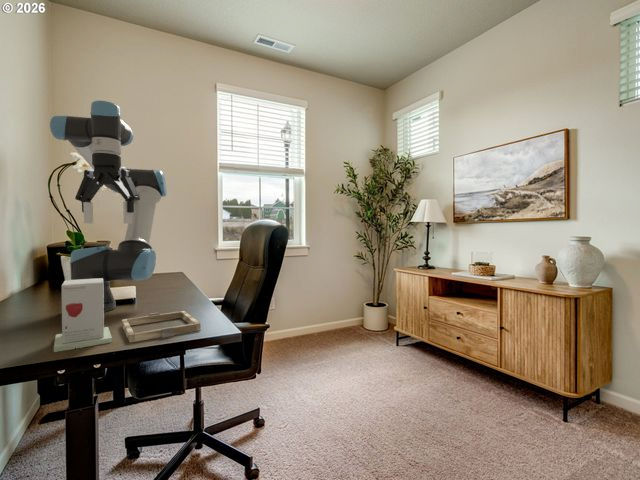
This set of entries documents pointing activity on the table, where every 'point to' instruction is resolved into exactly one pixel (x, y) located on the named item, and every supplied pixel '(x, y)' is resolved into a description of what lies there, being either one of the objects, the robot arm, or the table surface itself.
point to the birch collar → (163, 332)
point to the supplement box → (82, 309)
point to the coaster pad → (81, 342)
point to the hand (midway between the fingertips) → (108, 223)
